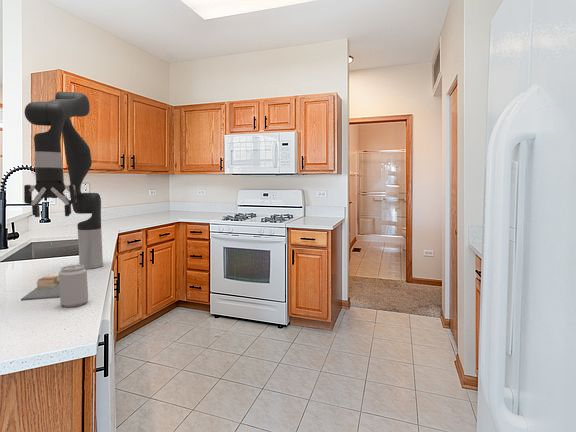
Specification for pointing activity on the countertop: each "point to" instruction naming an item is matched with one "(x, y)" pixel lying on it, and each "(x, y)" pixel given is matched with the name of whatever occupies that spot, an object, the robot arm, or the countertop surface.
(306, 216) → the countertop surface
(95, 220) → the robot arm
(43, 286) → the beige rectangular block
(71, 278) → the can
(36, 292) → the mat
